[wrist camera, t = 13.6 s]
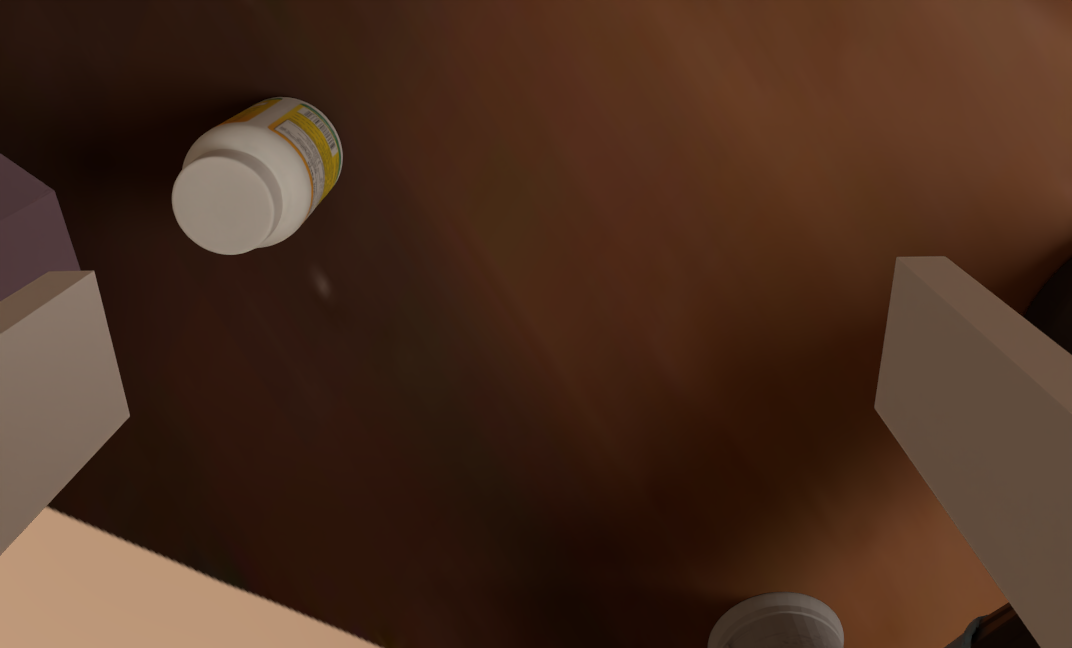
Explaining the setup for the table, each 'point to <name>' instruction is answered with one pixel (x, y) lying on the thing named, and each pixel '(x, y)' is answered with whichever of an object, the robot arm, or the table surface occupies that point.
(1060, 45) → the table surface
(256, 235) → the supplement bottle
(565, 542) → the table surface
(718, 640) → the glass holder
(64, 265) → the flask
